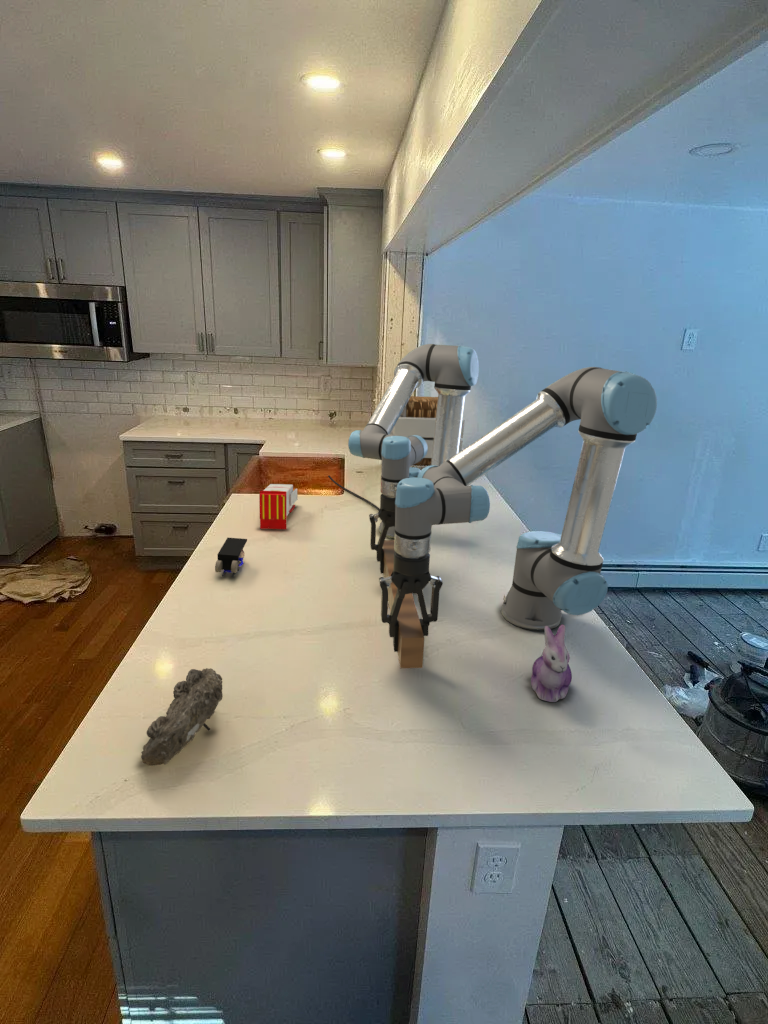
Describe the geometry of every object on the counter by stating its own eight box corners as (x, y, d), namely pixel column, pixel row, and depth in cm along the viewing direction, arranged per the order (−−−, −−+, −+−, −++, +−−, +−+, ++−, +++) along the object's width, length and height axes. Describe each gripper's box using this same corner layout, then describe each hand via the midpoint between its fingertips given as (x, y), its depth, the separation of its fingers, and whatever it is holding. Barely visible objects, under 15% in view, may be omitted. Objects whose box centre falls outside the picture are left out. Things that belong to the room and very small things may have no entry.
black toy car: (238, 584, 162) (249, 557, 175) (236, 562, 158) (247, 536, 172) (215, 584, 161) (227, 556, 175) (212, 561, 158) (225, 535, 171)
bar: (381, 563, 168) (381, 540, 165) (396, 563, 168) (397, 539, 166) (400, 668, 120) (401, 638, 117) (422, 668, 120) (424, 637, 117)
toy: (299, 479, 223) (289, 492, 194) (299, 512, 226) (289, 530, 197) (268, 478, 223) (253, 491, 193) (268, 512, 225) (254, 529, 196)
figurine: (550, 710, 114) (561, 646, 109) (517, 681, 122) (526, 620, 117) (585, 697, 118) (597, 635, 113) (550, 670, 127) (560, 611, 121)
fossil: (171, 669, 114) (224, 637, 109) (205, 700, 117) (257, 670, 112) (115, 759, 95) (175, 724, 90) (157, 793, 97) (218, 762, 92)
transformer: (382, 463, 289) (386, 382, 275) (445, 464, 293) (451, 384, 279) (390, 482, 257) (394, 392, 243) (460, 483, 261) (468, 394, 247)
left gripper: (362, 498, 149) (360, 577, 157) (429, 498, 151) (423, 577, 159) (360, 489, 156) (359, 565, 164) (424, 489, 158) (420, 565, 166)
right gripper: (370, 560, 114) (368, 658, 122) (457, 559, 115) (450, 656, 123) (368, 545, 121) (366, 639, 129) (450, 544, 122) (444, 637, 130)
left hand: (391, 571), depth 162 cm, fingers closed on bar, 5 cm apart
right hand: (407, 647), depth 126 cm, fingers closed on bar, 5 cm apart
